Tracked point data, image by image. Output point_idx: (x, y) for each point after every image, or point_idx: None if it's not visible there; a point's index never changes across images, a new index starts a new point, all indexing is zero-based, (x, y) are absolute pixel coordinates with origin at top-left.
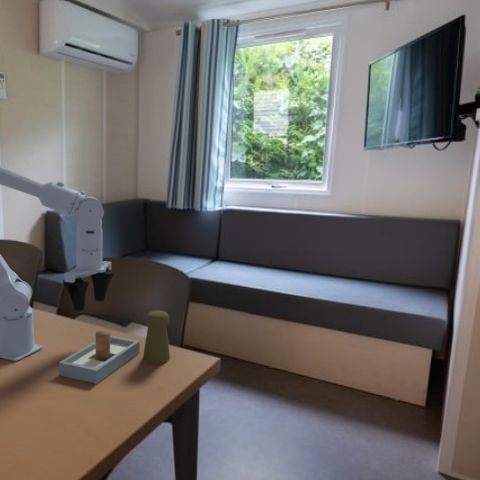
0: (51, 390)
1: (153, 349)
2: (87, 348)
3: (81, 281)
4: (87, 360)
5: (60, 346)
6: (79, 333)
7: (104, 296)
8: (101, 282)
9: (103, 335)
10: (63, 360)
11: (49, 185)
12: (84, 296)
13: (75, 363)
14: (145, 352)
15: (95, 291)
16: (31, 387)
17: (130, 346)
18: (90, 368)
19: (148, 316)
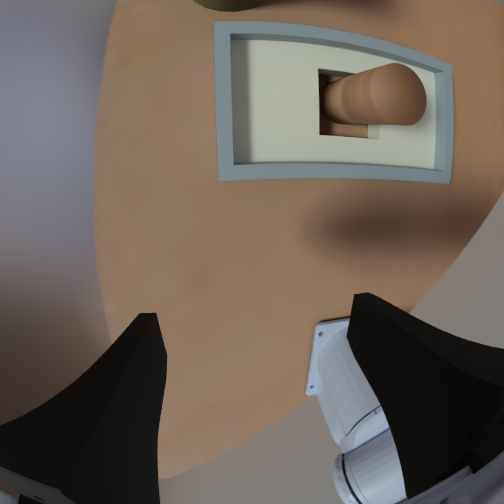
0: (468, 150)
1: None
2: (360, 164)
3: (483, 433)
4: (390, 131)
5: (287, 298)
6: (179, 320)
7: (134, 327)
8: (129, 438)
9: (419, 80)
10: (440, 179)
11: None
12: (420, 334)
13: (413, 154)
14: None
15: (158, 401)
16: (467, 195)
17: (279, 26)
18: (450, 84)
19: None
